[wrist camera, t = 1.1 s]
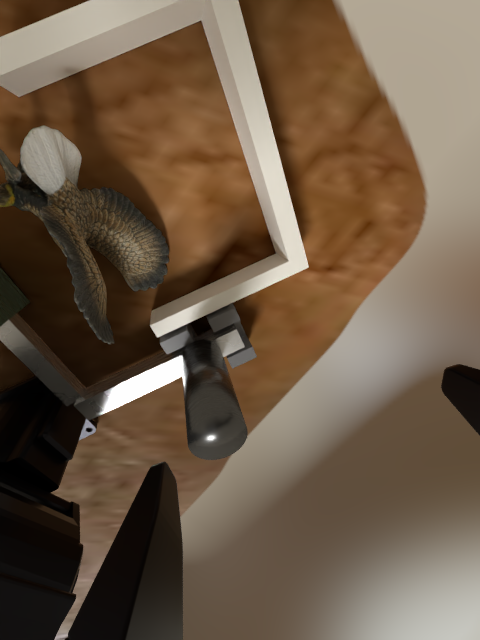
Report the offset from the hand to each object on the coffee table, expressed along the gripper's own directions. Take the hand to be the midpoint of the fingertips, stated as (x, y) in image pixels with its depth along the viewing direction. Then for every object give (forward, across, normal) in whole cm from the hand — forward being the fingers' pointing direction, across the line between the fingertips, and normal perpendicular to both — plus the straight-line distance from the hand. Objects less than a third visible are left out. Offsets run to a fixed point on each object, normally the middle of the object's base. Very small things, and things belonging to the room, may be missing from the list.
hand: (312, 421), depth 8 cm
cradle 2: (+14, +1, +3) cm, 14 cm away
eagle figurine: (+14, +8, -5) cm, 17 cm away
